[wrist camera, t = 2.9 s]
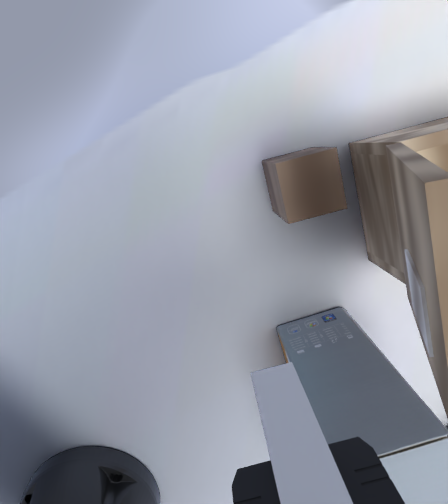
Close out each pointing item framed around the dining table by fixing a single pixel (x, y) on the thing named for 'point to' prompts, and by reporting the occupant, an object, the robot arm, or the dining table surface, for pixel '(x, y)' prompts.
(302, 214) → the walnut block
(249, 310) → the dining table surface
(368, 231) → the light wooden box
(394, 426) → the hard drive box
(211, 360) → the dining table surface
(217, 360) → the dining table surface
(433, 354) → the lid
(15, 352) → the dining table surface
